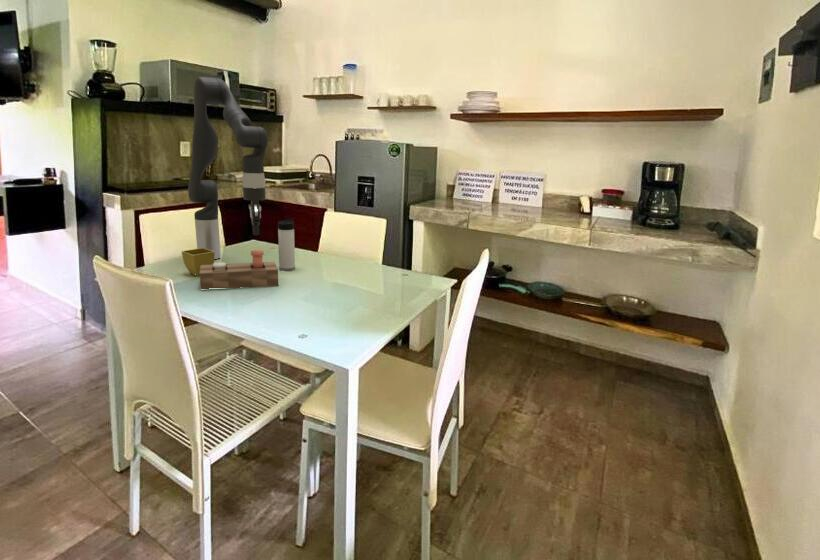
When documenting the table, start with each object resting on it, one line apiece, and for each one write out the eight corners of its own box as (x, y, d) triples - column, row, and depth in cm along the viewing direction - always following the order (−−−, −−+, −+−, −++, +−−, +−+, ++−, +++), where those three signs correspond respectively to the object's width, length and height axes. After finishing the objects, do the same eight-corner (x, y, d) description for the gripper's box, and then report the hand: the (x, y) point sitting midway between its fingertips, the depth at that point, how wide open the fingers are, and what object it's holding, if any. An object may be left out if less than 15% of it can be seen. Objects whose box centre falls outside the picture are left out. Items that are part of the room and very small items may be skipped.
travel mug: (297, 267, 201) (296, 219, 195) (291, 271, 194) (290, 222, 189) (282, 266, 201) (281, 218, 196) (276, 270, 195) (275, 221, 189)
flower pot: (195, 278, 179) (193, 254, 177) (182, 273, 184) (180, 250, 182) (216, 274, 186) (215, 251, 184) (204, 269, 191) (202, 247, 189)
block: (201, 280, 177) (200, 265, 175) (275, 276, 186) (274, 261, 184) (200, 290, 166) (199, 273, 164) (278, 285, 175) (277, 269, 173)
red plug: (251, 269, 178) (250, 250, 176) (263, 268, 180) (263, 249, 178) (252, 272, 174) (251, 252, 172) (264, 271, 176) (264, 252, 174)
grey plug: (214, 281, 175) (212, 262, 173) (227, 280, 176) (226, 261, 174) (214, 285, 171) (212, 265, 169) (227, 284, 172) (226, 264, 170)
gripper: (241, 184, 173) (244, 231, 178) (243, 187, 161) (246, 238, 166) (263, 184, 176) (265, 231, 180) (266, 187, 164) (268, 238, 169)
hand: (256, 234), depth 173 cm, fingers closed
